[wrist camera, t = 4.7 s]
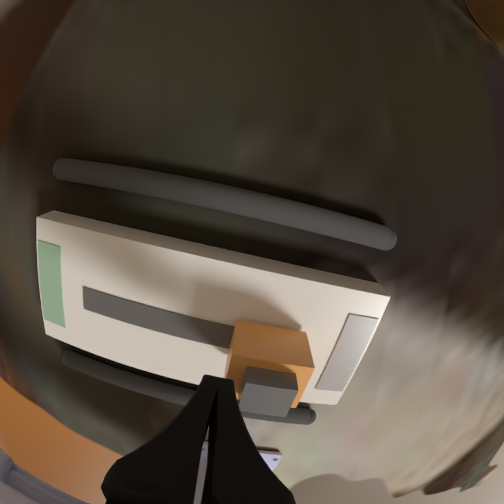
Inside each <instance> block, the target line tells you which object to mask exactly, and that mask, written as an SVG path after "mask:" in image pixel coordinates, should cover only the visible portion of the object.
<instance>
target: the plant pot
mask: <svg viewBox="0 0 504 504" xmlns="http://www.w3.org/2000/svg"><path fill="white" fill-rule="evenodd" d="M464 1H465V3H466V6H467V8H468V10H469V11H470V13H471V15H472V16H473V18H474V19H475V21H476V22H477V24H478V25H479V27H480V28H481V29H482V30H483V31H484V33H485V34H486V35H487V36H488V37H489V38H490V39H491V40H492V41H493V42H494V43H495V44H496V45H498V46H499V47H500V48H502V49H503V50H504V0H464Z"/></svg>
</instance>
